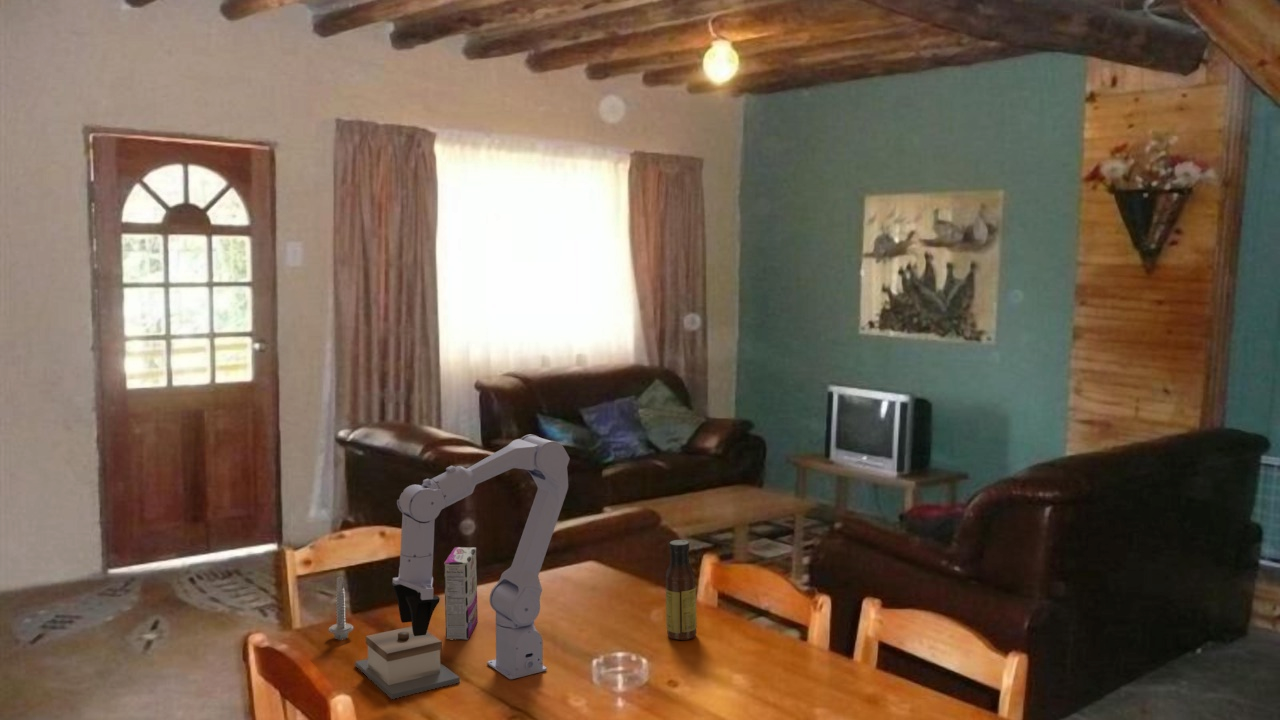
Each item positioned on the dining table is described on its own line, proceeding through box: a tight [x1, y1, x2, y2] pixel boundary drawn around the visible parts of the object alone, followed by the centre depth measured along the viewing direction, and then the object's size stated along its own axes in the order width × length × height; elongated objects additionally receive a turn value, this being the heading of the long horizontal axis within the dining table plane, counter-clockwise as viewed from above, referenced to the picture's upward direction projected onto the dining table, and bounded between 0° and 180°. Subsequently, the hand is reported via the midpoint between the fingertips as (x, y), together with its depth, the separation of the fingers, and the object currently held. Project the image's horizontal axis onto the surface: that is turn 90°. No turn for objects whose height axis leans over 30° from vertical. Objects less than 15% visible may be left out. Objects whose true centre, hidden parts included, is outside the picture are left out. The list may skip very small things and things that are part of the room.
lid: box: [365, 625, 443, 662], centre depth 195 cm, size 10×10×2 cm
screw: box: [328, 575, 354, 641], centre depth 214 cm, size 13×5×5 cm
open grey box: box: [367, 645, 441, 685], centre depth 195 cm, size 10×10×4 cm
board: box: [354, 658, 461, 700], centre depth 196 cm, size 18×13×1 cm
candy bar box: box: [443, 546, 479, 641], centre depth 218 cm, size 11×5×16 cm, turn 179°
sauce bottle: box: [665, 539, 698, 641], centre depth 216 cm, size 7×6×20 cm
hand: (413, 628), depth 188 cm, fingers open, 7 cm apart
